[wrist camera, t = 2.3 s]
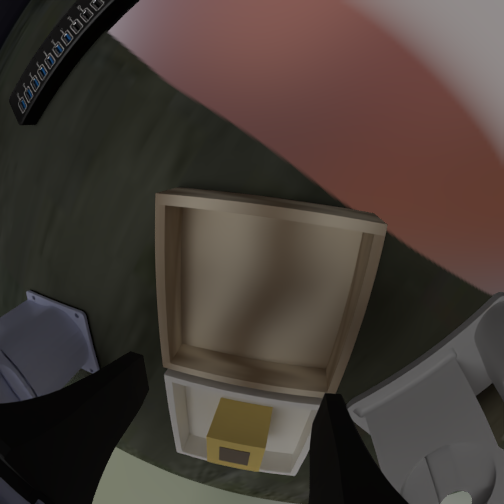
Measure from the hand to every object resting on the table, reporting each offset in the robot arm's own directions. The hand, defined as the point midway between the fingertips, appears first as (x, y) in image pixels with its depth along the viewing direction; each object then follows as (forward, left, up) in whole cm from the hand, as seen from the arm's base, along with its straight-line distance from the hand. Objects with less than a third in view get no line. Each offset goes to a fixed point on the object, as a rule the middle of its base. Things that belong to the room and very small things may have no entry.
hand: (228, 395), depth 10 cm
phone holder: (+18, -7, -10) cm, 21 cm away
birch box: (0, 0, -9) cm, 9 cm away
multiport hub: (-18, +18, -10) cm, 27 cm away
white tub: (0, -13, -9) cm, 16 cm away
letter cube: (0, -13, -9) cm, 16 cm away
